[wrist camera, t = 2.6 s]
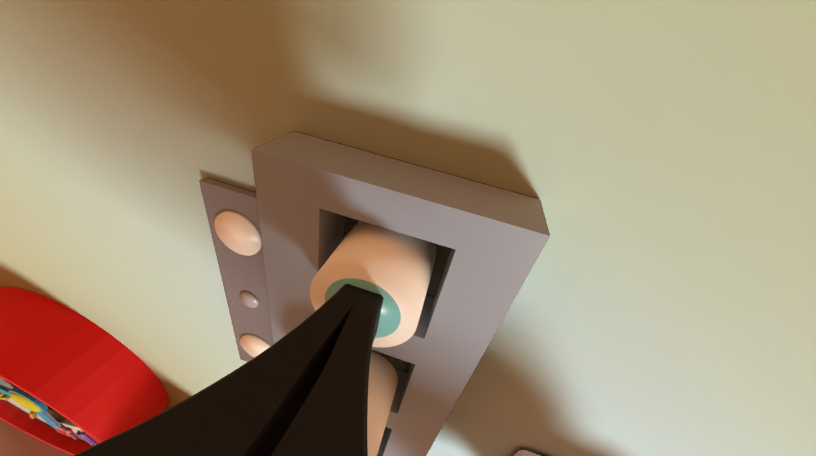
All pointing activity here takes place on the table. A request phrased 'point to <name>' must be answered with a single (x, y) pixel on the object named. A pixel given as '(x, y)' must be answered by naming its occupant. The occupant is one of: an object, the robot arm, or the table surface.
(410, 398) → the button board
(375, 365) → the button
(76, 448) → the toy clock
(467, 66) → the table surface
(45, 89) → the table surface
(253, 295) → the pattern tile
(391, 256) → the button
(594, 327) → the table surface
